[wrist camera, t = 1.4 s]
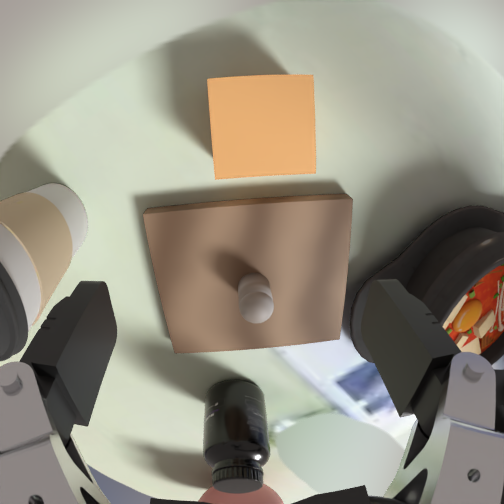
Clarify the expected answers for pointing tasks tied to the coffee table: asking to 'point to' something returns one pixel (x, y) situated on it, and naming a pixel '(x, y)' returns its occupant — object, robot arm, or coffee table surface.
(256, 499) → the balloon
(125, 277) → the coffee table surface
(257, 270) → the post stand
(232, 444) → the supplement bottle
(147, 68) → the coffee table surface
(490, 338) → the casserole
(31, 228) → the coffee cup
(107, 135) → the coffee table surface
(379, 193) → the coffee table surface
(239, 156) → the peach cube
